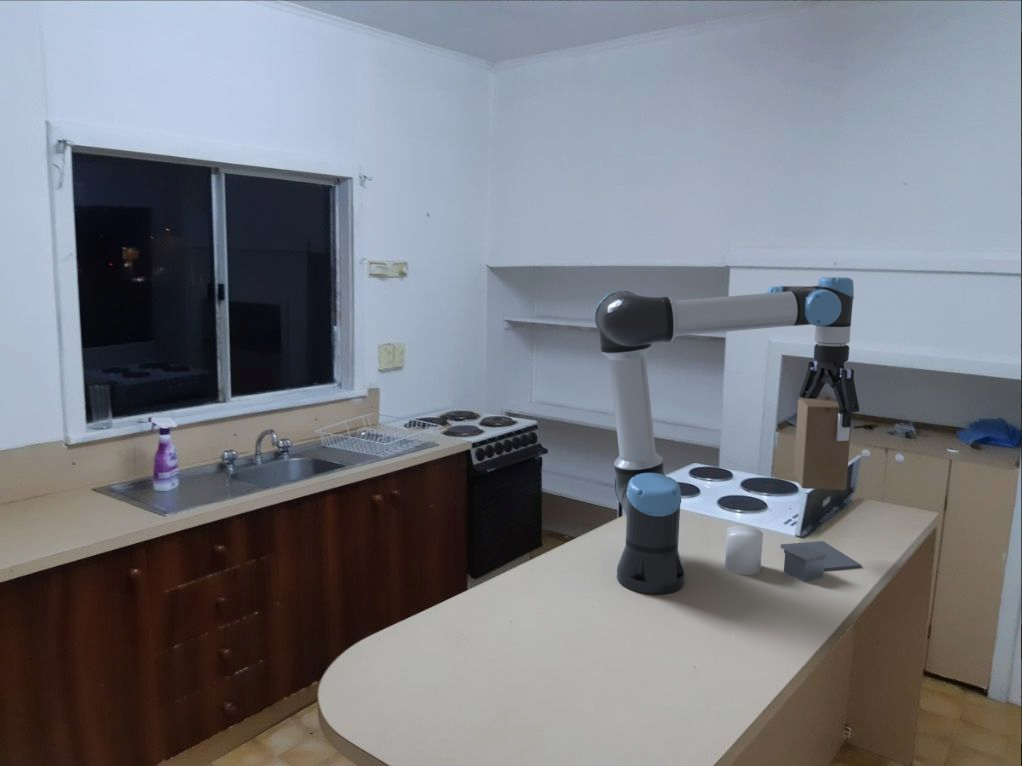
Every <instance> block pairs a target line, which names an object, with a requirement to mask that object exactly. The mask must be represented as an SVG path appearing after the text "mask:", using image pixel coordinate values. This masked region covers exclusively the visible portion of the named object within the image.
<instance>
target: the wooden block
mask: <svg viewBox="0 0 1022 766" xmlns="http://www.w3.org/2000/svg"><path fill="white" fill-rule="evenodd" d="M845 408H846V407H845ZM839 411H841V410H840V407H839V404H838V401H837V399H836V398H817V399H808V398H803V397H800V398H798V400H797V412H796V413H797V414H796V415H797V416H796V427H795V428H796V429H795V444H794V460H793V474H792V476H793V477H794V479H795V480H796V482H797V483H798V485H799V486H800V487H801V488H802V489H807V490H808V489H810V490H811V489H812V490H828V491H829V490H830V491H831V490H833V491H846V489H847V485H848V484H847V481H848V473H849V472H848V469H849V458H850V457H849V456H850V445H851V431H852V425H851V426H850V431H849V440H848V441H837V440H836V437H837V424H838V412H839ZM852 418H853V417H851V421H852Z"/></svg>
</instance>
